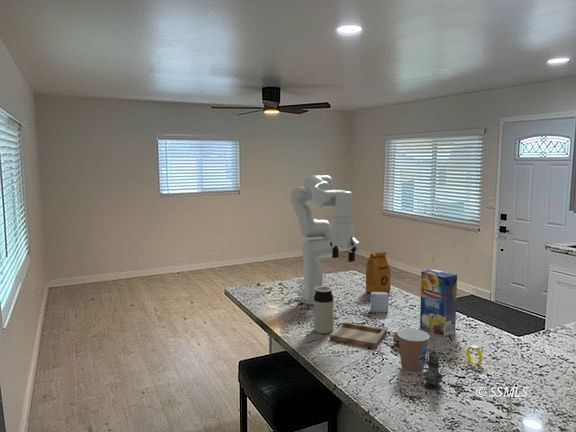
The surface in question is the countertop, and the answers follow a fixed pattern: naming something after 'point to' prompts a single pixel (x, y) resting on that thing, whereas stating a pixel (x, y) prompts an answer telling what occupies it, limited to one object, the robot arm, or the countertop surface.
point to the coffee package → (377, 273)
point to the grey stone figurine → (433, 373)
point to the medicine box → (379, 302)
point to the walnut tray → (359, 335)
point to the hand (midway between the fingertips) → (343, 259)
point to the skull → (396, 338)
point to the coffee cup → (413, 349)
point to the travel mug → (323, 309)
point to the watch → (478, 354)
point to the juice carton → (438, 301)
